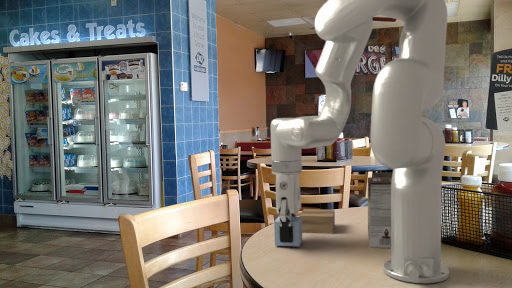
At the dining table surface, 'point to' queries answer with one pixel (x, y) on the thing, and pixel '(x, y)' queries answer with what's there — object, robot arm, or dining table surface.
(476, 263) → the dining table surface
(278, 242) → the slate cube
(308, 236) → the dining table surface
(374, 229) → the coffee box
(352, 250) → the dining table surface
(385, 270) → the robot arm
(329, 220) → the walnut block
